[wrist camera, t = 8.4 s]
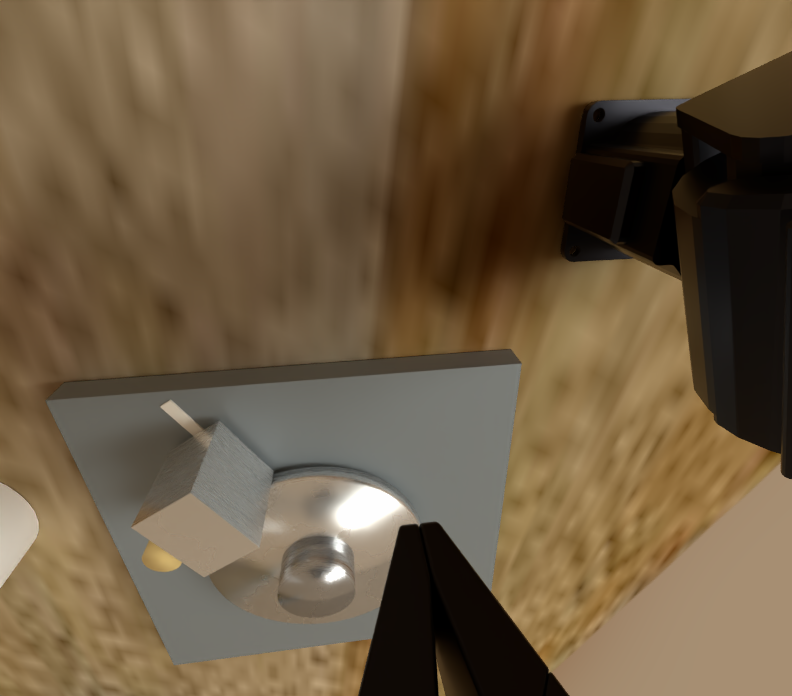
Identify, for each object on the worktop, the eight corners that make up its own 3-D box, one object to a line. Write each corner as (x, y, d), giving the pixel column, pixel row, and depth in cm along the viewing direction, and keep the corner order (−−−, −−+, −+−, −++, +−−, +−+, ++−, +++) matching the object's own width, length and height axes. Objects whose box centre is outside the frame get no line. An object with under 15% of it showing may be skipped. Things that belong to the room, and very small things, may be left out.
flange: (186, 409, 20) (148, 481, 16) (461, 499, 25) (485, 572, 21) (120, 573, 24) (78, 661, 20) (364, 622, 29) (368, 700, 25)
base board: (510, 349, 23) (562, 419, 17) (480, 603, 33) (507, 695, 28) (64, 382, 21) (-31, 473, 15) (181, 641, 31) (148, 749, 26)
